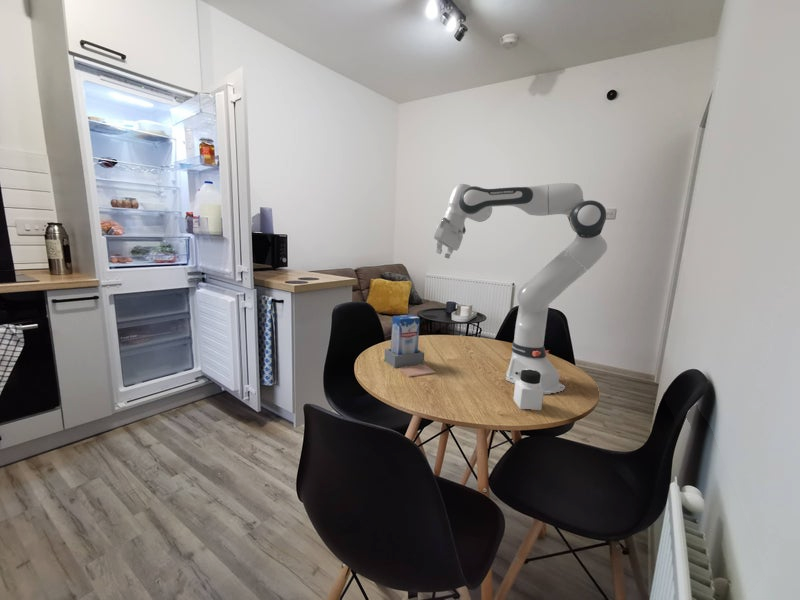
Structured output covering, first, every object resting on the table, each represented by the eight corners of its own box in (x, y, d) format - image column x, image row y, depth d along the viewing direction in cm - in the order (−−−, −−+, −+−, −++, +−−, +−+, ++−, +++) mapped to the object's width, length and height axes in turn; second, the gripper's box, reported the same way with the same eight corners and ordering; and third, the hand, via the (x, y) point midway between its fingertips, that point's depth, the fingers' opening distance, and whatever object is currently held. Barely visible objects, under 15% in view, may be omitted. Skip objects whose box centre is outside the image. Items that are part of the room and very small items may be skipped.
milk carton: (409, 358, 155) (411, 314, 152) (417, 362, 150) (419, 317, 147) (390, 361, 150) (392, 316, 146) (397, 366, 145) (400, 319, 141)
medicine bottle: (541, 410, 112) (546, 375, 110) (519, 409, 112) (523, 374, 110) (533, 400, 119) (538, 367, 117) (512, 399, 119) (516, 366, 117)
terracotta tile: (435, 373, 139) (435, 371, 139) (408, 377, 133) (409, 375, 133) (423, 365, 147) (423, 364, 147) (398, 369, 141) (398, 367, 141)
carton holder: (423, 364, 149) (424, 353, 148) (394, 368, 142) (395, 356, 141) (412, 356, 157) (412, 346, 156) (384, 360, 151) (384, 349, 150)
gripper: (450, 217, 133) (440, 251, 134) (467, 231, 151) (457, 262, 152) (436, 214, 136) (425, 248, 137) (454, 229, 154) (444, 258, 155)
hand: (442, 255), depth 144 cm, fingers open, 8 cm apart
